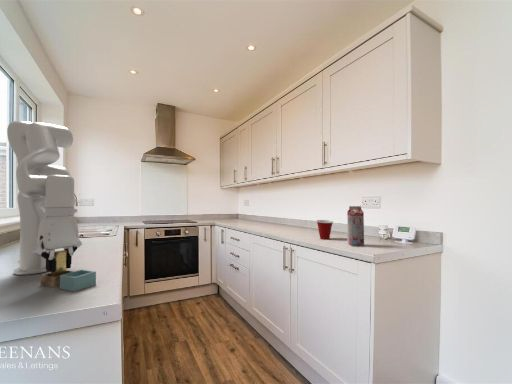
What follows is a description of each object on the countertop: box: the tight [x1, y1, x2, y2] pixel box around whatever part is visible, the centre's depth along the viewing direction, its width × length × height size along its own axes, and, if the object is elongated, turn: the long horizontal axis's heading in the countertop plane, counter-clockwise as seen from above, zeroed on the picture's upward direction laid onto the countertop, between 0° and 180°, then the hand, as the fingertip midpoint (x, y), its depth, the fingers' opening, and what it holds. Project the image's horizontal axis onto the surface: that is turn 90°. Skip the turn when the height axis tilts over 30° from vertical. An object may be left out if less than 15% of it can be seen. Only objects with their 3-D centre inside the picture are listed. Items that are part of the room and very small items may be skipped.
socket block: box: [40, 269, 75, 288], centre depth 82 cm, size 7×7×3 cm
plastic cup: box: [316, 219, 334, 240], centre depth 166 cm, size 11×11×12 cm
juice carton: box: [346, 205, 365, 247], centre depth 143 cm, size 7×7×22 cm
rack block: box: [59, 269, 97, 292], centre depth 78 cm, size 7×7×4 cm
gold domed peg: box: [50, 249, 68, 277], centre depth 82 cm, size 4×4×10 cm
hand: (58, 269), depth 82 cm, fingers closed on gold domed peg, 4 cm apart
